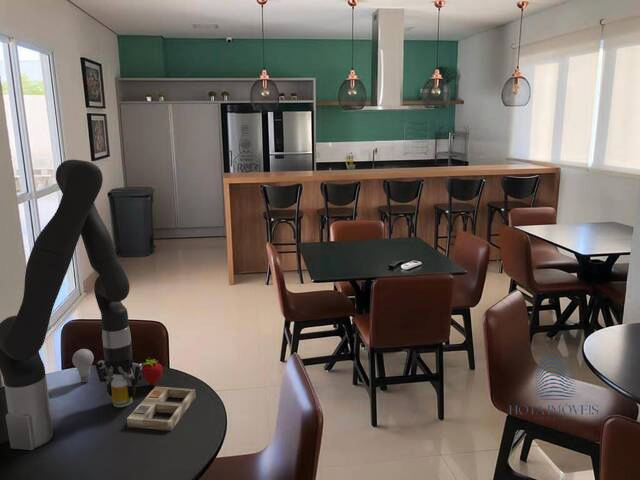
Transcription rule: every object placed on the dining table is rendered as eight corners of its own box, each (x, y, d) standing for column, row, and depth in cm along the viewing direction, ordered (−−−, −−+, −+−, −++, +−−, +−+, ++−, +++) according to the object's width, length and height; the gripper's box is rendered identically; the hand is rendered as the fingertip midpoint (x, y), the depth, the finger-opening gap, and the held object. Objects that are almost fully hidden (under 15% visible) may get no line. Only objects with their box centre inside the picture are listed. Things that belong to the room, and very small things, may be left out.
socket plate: (171, 430, 139) (170, 421, 138) (127, 426, 141) (126, 417, 140) (195, 396, 156) (195, 388, 155) (156, 393, 158) (155, 385, 157)
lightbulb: (81, 388, 161) (77, 355, 158) (71, 382, 164) (67, 350, 162) (99, 380, 165) (96, 349, 163) (89, 375, 169) (86, 344, 166)
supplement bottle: (131, 406, 151) (128, 375, 148) (111, 408, 150) (108, 377, 147) (133, 397, 156) (130, 367, 154) (114, 399, 155) (111, 369, 152)
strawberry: (154, 392, 158) (151, 362, 156) (136, 386, 162) (134, 357, 159) (168, 384, 163) (166, 355, 161) (151, 378, 167) (148, 349, 165)
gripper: (86, 345, 146) (92, 400, 149) (134, 349, 144) (139, 404, 148) (100, 335, 153) (106, 387, 157) (146, 337, 151) (151, 390, 155)
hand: (122, 395), depth 152 cm, fingers closed on supplement bottle, 5 cm apart
